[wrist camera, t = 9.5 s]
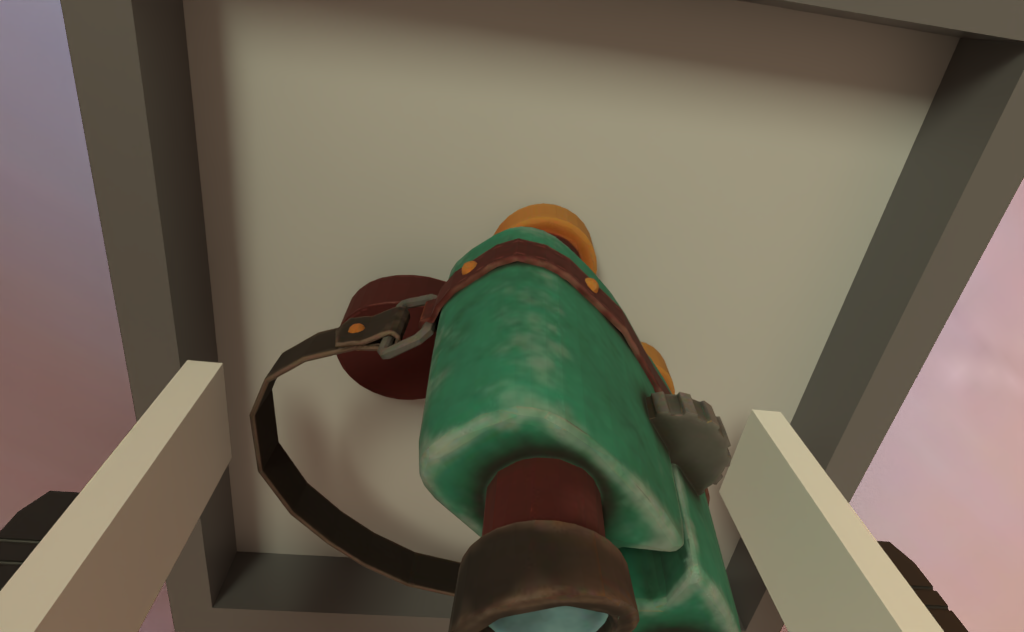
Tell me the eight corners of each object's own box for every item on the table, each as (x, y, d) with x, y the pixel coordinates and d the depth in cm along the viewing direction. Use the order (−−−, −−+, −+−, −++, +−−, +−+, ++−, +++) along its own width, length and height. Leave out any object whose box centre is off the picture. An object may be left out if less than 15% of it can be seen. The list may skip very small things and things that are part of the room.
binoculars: (-57, 733, 8) (666, 437, 5) (268, 317, 17) (582, 129, 14) (376, 951, 11) (934, 860, 8) (449, 512, 20) (728, 396, 18)
